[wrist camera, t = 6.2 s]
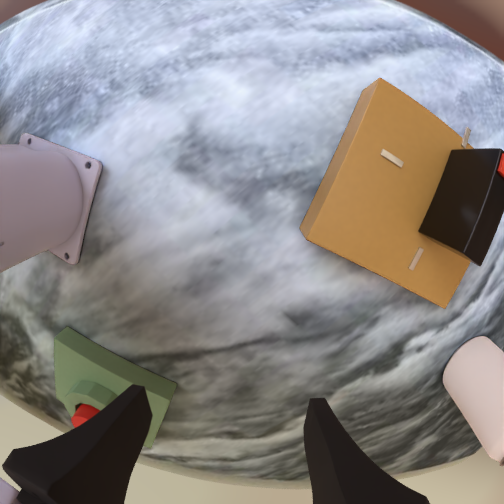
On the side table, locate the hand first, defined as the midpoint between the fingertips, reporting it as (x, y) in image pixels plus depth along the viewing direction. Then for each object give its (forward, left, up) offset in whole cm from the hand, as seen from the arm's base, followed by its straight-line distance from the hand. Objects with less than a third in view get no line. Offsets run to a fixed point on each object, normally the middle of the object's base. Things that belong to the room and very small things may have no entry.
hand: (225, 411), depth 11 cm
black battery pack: (+7, +13, -6) cm, 16 cm away
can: (+22, +3, -9) cm, 24 cm away
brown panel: (+6, +12, -9) cm, 16 cm away
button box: (-8, -13, -9) cm, 17 cm away
